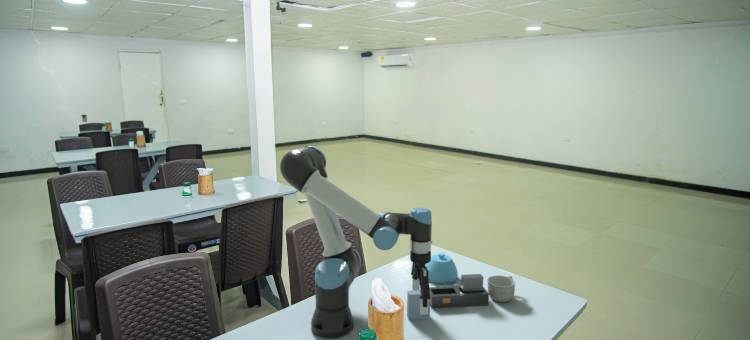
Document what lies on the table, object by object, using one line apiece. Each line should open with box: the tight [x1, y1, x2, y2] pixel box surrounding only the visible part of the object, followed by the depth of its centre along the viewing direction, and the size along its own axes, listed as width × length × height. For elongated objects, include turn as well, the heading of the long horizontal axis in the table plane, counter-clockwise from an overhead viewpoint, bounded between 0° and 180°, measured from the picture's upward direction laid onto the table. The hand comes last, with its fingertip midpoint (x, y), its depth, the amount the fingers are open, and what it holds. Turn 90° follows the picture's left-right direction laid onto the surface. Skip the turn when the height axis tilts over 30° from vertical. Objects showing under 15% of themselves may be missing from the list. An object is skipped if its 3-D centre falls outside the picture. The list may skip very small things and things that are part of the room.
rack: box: [429, 273, 490, 310], centre depth 163 cm, size 23×8×11 cm, turn 97°
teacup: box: [487, 275, 516, 303], centre depth 168 cm, size 14×11×8 cm
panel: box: [406, 290, 431, 321], centre depth 152 cm, size 8×3×10 cm, turn 97°
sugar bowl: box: [425, 252, 459, 285], centre depth 185 cm, size 15×15×12 cm
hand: (419, 304), depth 152 cm, fingers open, 13 cm apart
